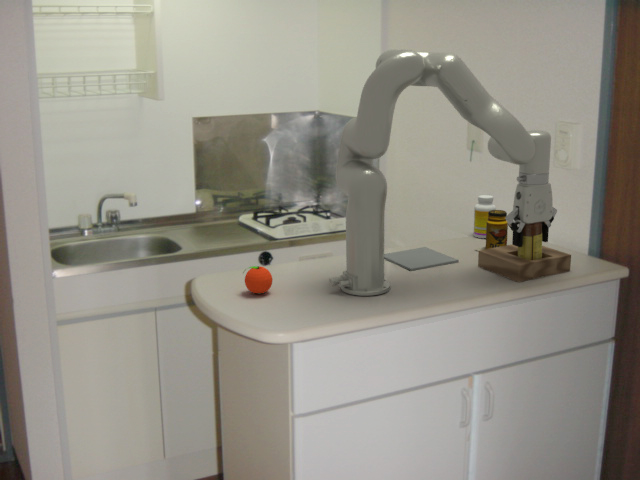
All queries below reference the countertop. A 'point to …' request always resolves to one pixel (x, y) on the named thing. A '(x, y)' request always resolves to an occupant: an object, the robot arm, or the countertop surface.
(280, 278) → the countertop surface
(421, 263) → the rubber mat
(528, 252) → the sauce bottle
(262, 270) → the clementine
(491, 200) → the supplement bottle
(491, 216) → the condiment
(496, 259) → the socket block
